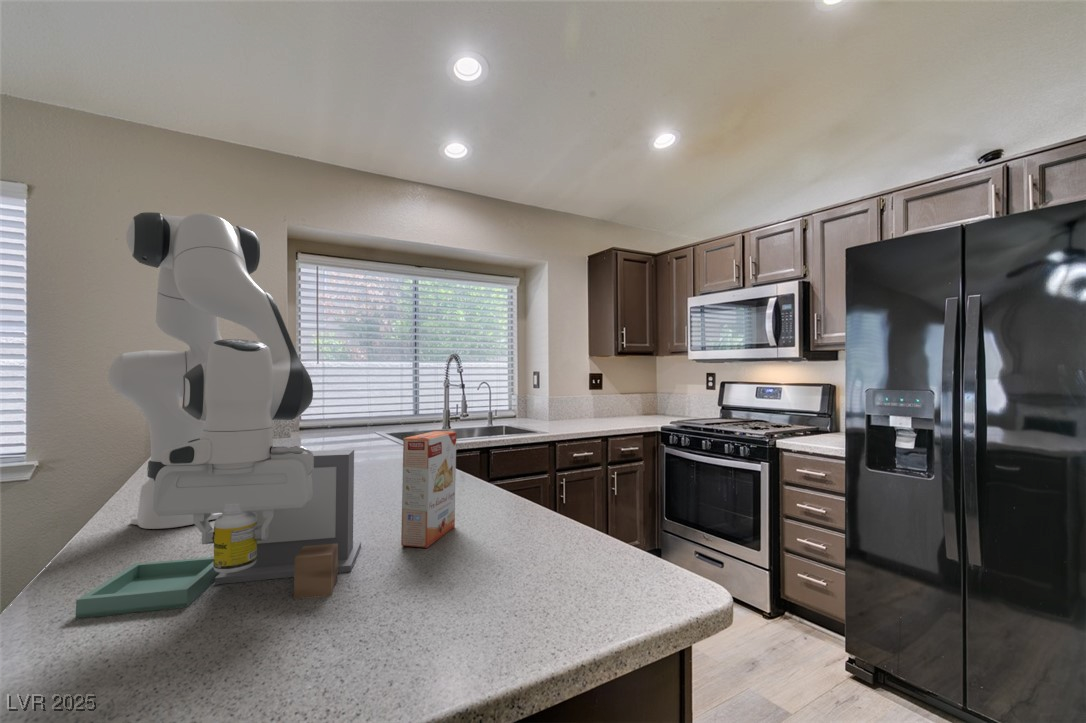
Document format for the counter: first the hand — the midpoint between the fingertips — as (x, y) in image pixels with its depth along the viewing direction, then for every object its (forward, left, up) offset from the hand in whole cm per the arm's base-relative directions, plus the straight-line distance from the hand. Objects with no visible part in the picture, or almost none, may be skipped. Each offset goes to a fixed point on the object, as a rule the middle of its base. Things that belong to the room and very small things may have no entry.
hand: (235, 541), depth 69 cm
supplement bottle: (0, 0, -4) cm, 4 cm away
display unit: (-11, +5, -8) cm, 15 cm away
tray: (-4, -12, -8) cm, 15 cm away
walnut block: (+1, +11, -8) cm, 14 cm away
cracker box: (-20, +28, -8) cm, 36 cm away
